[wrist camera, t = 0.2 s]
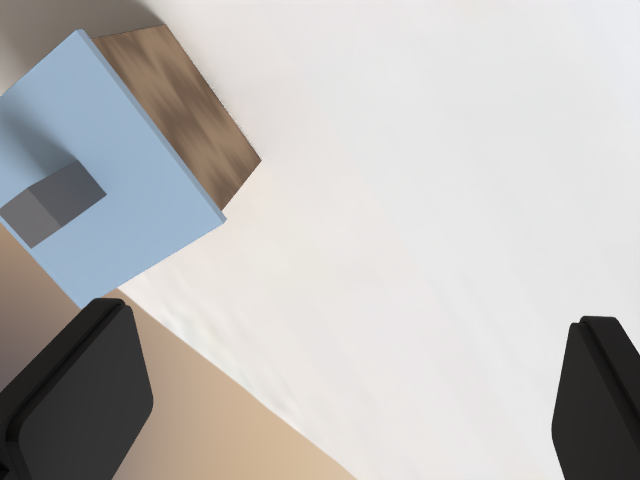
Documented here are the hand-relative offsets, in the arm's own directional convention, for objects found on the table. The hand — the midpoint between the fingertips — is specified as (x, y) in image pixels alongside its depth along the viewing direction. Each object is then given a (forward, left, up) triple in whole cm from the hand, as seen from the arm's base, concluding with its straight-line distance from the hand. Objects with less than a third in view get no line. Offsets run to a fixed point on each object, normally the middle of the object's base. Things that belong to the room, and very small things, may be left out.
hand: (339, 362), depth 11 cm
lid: (-7, -21, -24) cm, 32 cm away
